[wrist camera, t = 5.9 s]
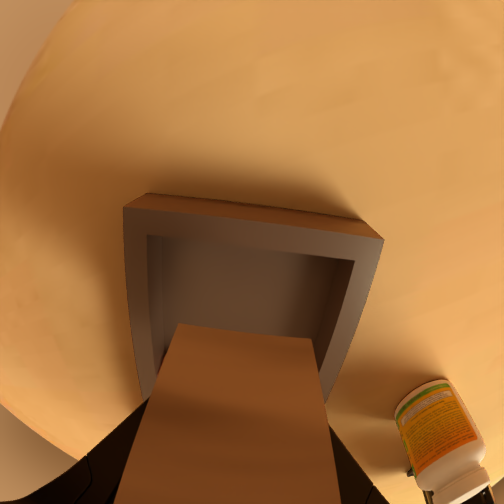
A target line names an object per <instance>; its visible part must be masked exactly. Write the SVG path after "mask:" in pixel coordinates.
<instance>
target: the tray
mask: <svg viewBox="0 0 504 504" xmlns="http://www.w3.org/2000/svg"><path fill="white" fill-rule="evenodd" d="M123 230H124V256H125V273H126V286H127V297H128V307H129V316H130V325H131V333H132V340H133V347H134V353H135V360H136V366H137V371H138V377H139V382H140V388H141V393H142V398H143V402H144V401H145V400H146V399H147V398H148V397H149V396H150V395H151V393H152V390H153V387H154V385H155V382H156V379H157V377H158V374H159V371H160V369H161V366H162V364H163V361H164V359H165V356H166V353H167V351H168V348H169V346H170V343H171V341H172V338H173V336H174V333H175V331H176V328H177V326H178V323H182V324H188V325H195V326H201V327H208V328H215V329H222V330H230V331H238V332H246V333H255V334H264V335H274V336H284V337H296V338H308V339H311V340H312V345H313V349H314V354H315V359H316V364H317V369H318V374H319V379H320V384H321V389H322V394H323V399H324V404H325V403H326V400H327V398H328V396H329V394H330V392H331V389H332V387H333V385H334V383H335V380H336V378H337V376H338V373H339V371H340V369H341V366H342V364H343V361H344V359H345V357H346V354H347V352H348V349H349V346H350V344H351V341H352V339H353V336H354V333H355V331H356V328H357V325H358V323H359V320H360V317H361V314H362V311H363V308H364V305H365V303H366V300H367V297H368V293H369V290H370V287H371V284H372V281H373V278H374V274H375V271H376V268H377V264H378V261H379V258H380V254H381V250H382V247H383V243H384V239H383V238H382V237H381V236H380V235H379V234H378V233H377V232H376V231H374V230H373V229H372V228H371V227H370V226H369V225H368V224H367V223H366V222H365V221H363V220H357V219H351V218H345V217H339V216H333V215H326V214H320V213H313V212H307V211H300V210H293V209H286V208H279V207H271V206H264V205H256V204H248V203H240V202H231V201H222V200H213V199H204V198H195V197H185V196H174V195H163V194H152V193H146V194H145V195H143V196H141V197H139V198H137V199H136V200H134V201H132V202H131V203H129V204H127V205H125V206H124V207H123Z"/></svg>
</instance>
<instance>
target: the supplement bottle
mask: <svg viewBox="0 0 504 504" xmlns="http://www.w3.org/2000/svg"><path fill="white" fill-rule="evenodd" d="M394 417H395V421H396V424H397V427H398V430H399V432H400V435H401V438H402V441H403V443H404V446H405V449H406V452H407V455H408V458H409V461H410V464H411V467H412V470H413V473H414V477H415V480H416V483H417V485H418V487H419V488H420V489H422V490H425V491H431V490H433V492H434V495H433V496H432V499H433V504H460V503H462V502H464V501H466V500H467V499H469V498H471V497H472V496H474V495H476V494H477V493H478V492H480V491H481V490H483V489H484V488H485V487H486V486H487V485H488V484H489V483H490V479H489V476H488V474H487V471H486V470H485V468H484V467H480V465H479V463H480V462H481V461H482V459H483V458H484V456H485V453H486V446H485V443H484V441H483V438H482V437H481V435H480V433H479V431H478V429H477V427H476V425H475V423H474V421H473V419H472V417H471V416H470V414H469V412H468V410H467V408H466V406H465V405H464V403H463V401H462V399H461V397H460V396H459V394H458V392H457V391H456V389H455V387H454V386H453V384H452V383H451V382H450V381H447V380H435V381H431V382H429V383H426V384H424V385H422V386H420V387H418V388H416V389H415V390H413V391H412V392H411V393H409V394H408V395H407V396H406V397H405V398H404V399H403V400H402V401H401V402H400V404H399V405H398V407H397V408H396V410H395V414H394Z"/></svg>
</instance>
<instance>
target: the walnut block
mask: <svg viewBox="0 0 504 504" xmlns="http://www.w3.org/2000/svg"><path fill="white" fill-rule="evenodd" d="M114 504H341V499H340V493H339V486H338V479H337V473H336V467H335V461H334V455H333V449H332V443H331V437H330V432H329V426H328V420H327V415H326V410H325V404H324V399H323V394H322V389H321V384H320V379H319V374H318V369H317V364H316V359H315V354H314V349H313V345H312V340H311V339H308V338H296V337H284V336H274V335H264V334H255V333H246V332H238V331H230V330H222V329H215V328H208V327H201V326H195V325H188V324H182V323H178V326H177V328H176V331H175V333H174V336H173V338H172V341H171V343H170V346H169V348H168V351H167V353H166V356H165V359H164V361H163V364H162V366H161V369H160V371H159V374H158V377H157V379H156V382H155V385H154V387H153V390H152V393H151V395H150V398H149V401H148V403H147V406H146V409H145V412H144V414H143V417H142V420H141V423H140V426H139V428H138V431H137V434H136V437H135V440H134V443H133V446H132V449H131V451H130V454H129V457H128V460H127V463H126V466H125V469H124V472H123V475H122V478H121V482H120V485H119V488H118V491H117V494H116V497H115V501H114Z"/></svg>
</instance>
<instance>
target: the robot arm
mask: <svg viewBox="0 0 504 504" xmlns="http://www.w3.org/2000/svg"><path fill="white" fill-rule="evenodd" d="M149 398H150V396H149V397H148V398H147V399H146V400H145V401H144V402H143V403H142V404H141V405H140V406H139V407H138V408H137V409H136V410H135V411H133V412H132V413H131V414H130V415H129V416H128V417H127V418H126V419H125V420H124V421H123V422H122V423H121V424H119V425H118V426H117V427H116V428H115V429H114V430H113V431H112V432H111V433H110V434H108V435H107V436H106V437H105V438H104V439H103V440H102V441H101V442H100V443H99V444H97V445H96V446H95V447H94V448H93V449H92V450H91V451H90V452H88V453H87V456H84V457H83V458H82V459H80V460H79V461H78V462H77V463H76V464H75V465H73V466H72V467H71V468H70V469H68V470H67V471H66V472H64V473H63V474H61V475H60V476H59V477H57V478H56V479H54V480H53V481H51V482H50V483H48V484H46V485H44V486H43V487H41V488H39V489H38V490H36V491H34V492H33V493H31V494H29V495H28V496H26V497H24V498H21V499H17V500H13V501H3V502H0V504H114V501H115V497H116V494H117V491H118V488H119V485H120V482H121V478H122V475H123V472H124V469H125V466H126V463H127V460H128V457H129V454H130V451H131V449H132V446H133V443H134V440H135V437H136V434H137V431H138V428H139V426H140V423H141V420H142V417H143V414H144V412H145V409H146V406H147V403H148V401H149ZM328 426H329V432H330V437H331V443H332V449H333V455H334V461H335V467H336V473H337V479H338V486H339V493H340V499H341V504H389V502H388V501H387V500H386V499H385V498H384V496H383V495H382V494H381V493H380V492H379V490H378V489H377V488H376V486H373V483H372V481H371V480H370V479H369V477H368V476H367V475H366V474H365V472H364V471H363V470H362V468H361V467H360V466H359V464H358V463H357V462H356V460H355V459H354V458H353V456H352V455H351V454H350V452H349V451H348V450H347V448H346V447H345V446H344V444H343V443H342V442H341V440H340V439H339V438H338V436H337V435H336V433H335V432H334V431H333V429H332V428H331V427H330V425H329V424H328ZM410 476H414V473H413V470H412V469H411V470H410V471H409V472H408V473H407V477H410ZM422 491H423V494H424V497H425V501H426V504H433V499H432V496H433V495H434V492H433V490H431V491H425V490H422ZM460 504H496V501H495V498H494V495H493V492H492V489H491V486H490V484H488V485H487V486H486V487H485V488H484V489H483V490H481V491H480V492H478V493H477V494H476V495H474V496H472V497H471V498H469V499H467V500H466V501H464V502H462V503H460Z"/></svg>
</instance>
